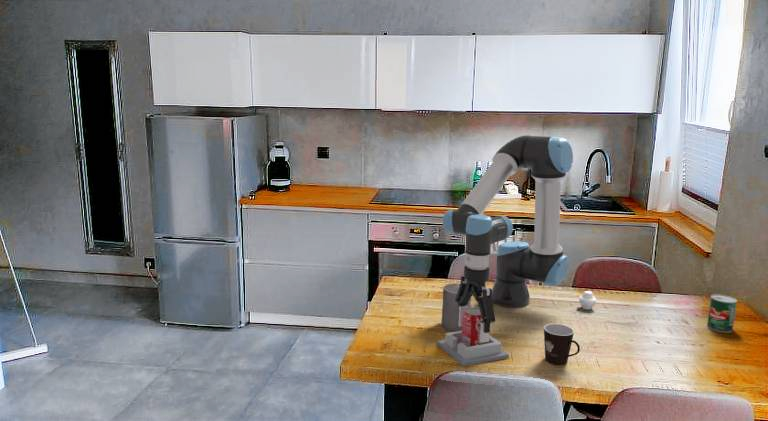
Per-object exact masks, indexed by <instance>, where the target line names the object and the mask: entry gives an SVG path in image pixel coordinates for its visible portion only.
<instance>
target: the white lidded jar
mask: <svg viewBox="0 0 768 421" xmlns="http://www.w3.org/2000/svg"><path fill="white" fill-rule="evenodd" d="M578 300H579V303H580V305H581V308H582V309H583V310H585V311H591V310H592V309H593V307H594V306H595V305H596V303H597V298H596V297H595V296H594V292H592V291H590V290H584V292H583V293H582V294H581V295H580V296H579V298H578Z"/></svg>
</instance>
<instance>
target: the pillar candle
mask: <svg viewBox="0 0 768 421" xmlns="http://www.w3.org/2000/svg"><path fill="white" fill-rule="evenodd" d="M459 286H460V283H448V284H445V285H444V286H443V290H442V307H441V308H442V309H441V310H442V311H441V326H442V328H444V329H446V330H449V331H451V332H457V331H462V326H461V327H459V305H458V302H456V301H455V299H456V296H457V292H458V289H459ZM460 298H461V297H460ZM471 301H472V297H471V298H470V300H469V301H468V305H465V306H468V308H471V307H472V302H471Z"/></svg>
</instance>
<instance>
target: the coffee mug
mask: <svg viewBox="0 0 768 421" xmlns="http://www.w3.org/2000/svg"><path fill="white" fill-rule="evenodd" d="M574 334H575V330H574V329H573V328H572V327H570V326H568V325H565V324H560V323H548V324H546V325H544V326H543V336H544V337H543V340H544V359H545V361H546V362H547V363H548V364H550V365H553V366H565V365H567V364H568V361H569V360H568V359H569V357H573V356H574V357H575V356H576V355H577V354H579V353H580V351H581V349H580V348H581V347H580V344H579V343H578V342H577V341H576V340H573V338H574ZM573 343H574V344H575V346H576V348H577V350H576V352H574V353H570V352H571V348H572V344H573Z"/></svg>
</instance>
